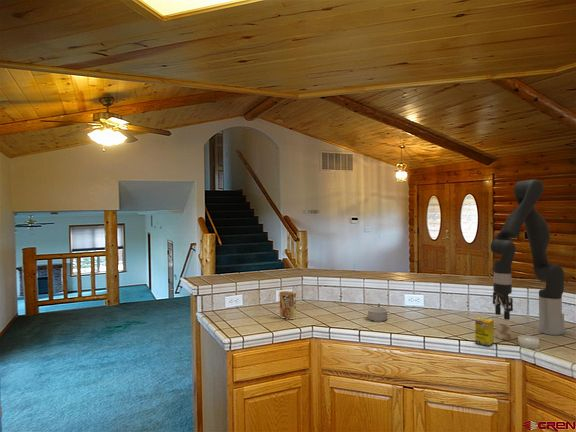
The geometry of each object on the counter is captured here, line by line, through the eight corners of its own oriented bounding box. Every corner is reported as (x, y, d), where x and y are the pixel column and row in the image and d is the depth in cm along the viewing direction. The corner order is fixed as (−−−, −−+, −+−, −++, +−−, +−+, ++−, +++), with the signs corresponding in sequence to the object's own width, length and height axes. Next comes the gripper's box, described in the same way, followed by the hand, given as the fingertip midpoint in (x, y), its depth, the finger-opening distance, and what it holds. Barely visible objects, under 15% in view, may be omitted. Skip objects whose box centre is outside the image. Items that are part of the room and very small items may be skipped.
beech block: (505, 336, 183) (505, 323, 183) (510, 339, 179) (510, 326, 178) (496, 336, 183) (495, 323, 183) (500, 339, 179) (500, 326, 179)
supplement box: (475, 344, 174) (474, 319, 174) (480, 340, 178) (479, 317, 178) (489, 347, 170) (489, 322, 169) (494, 343, 174) (493, 319, 174)
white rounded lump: (532, 342, 174) (532, 335, 174) (543, 349, 166) (543, 341, 166) (514, 342, 175) (514, 335, 175) (524, 349, 167) (524, 340, 167)
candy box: (296, 318, 220) (296, 291, 220) (294, 320, 217) (293, 293, 216) (282, 316, 224) (282, 290, 224) (279, 318, 220) (279, 292, 220)
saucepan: (389, 313, 227) (389, 304, 227) (387, 323, 208) (387, 312, 208) (369, 312, 231) (369, 303, 231) (366, 321, 212) (365, 311, 211)
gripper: (518, 285, 173) (518, 321, 174) (503, 279, 188) (503, 313, 188) (501, 285, 174) (501, 321, 174) (487, 279, 188) (487, 312, 188)
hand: (502, 316), depth 181 cm, fingers open, 8 cm apart
